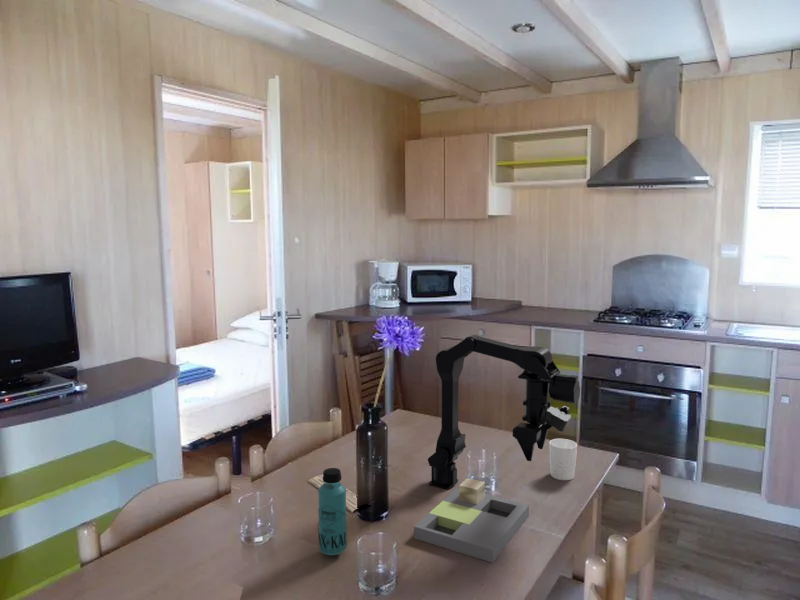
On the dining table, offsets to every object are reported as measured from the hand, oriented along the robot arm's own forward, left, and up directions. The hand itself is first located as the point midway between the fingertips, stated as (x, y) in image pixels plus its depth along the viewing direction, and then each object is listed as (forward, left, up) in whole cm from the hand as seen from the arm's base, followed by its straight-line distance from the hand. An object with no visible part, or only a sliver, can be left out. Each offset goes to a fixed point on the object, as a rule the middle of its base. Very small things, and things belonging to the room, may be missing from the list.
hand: (534, 454), depth 154 cm
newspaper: (-49, -20, -15) cm, 55 cm away
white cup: (+1, +22, -14) cm, 26 cm away
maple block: (-13, -10, -11) cm, 20 cm away
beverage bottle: (-32, -45, -14) cm, 57 cm away
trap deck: (-9, -18, -14) cm, 25 cm away
